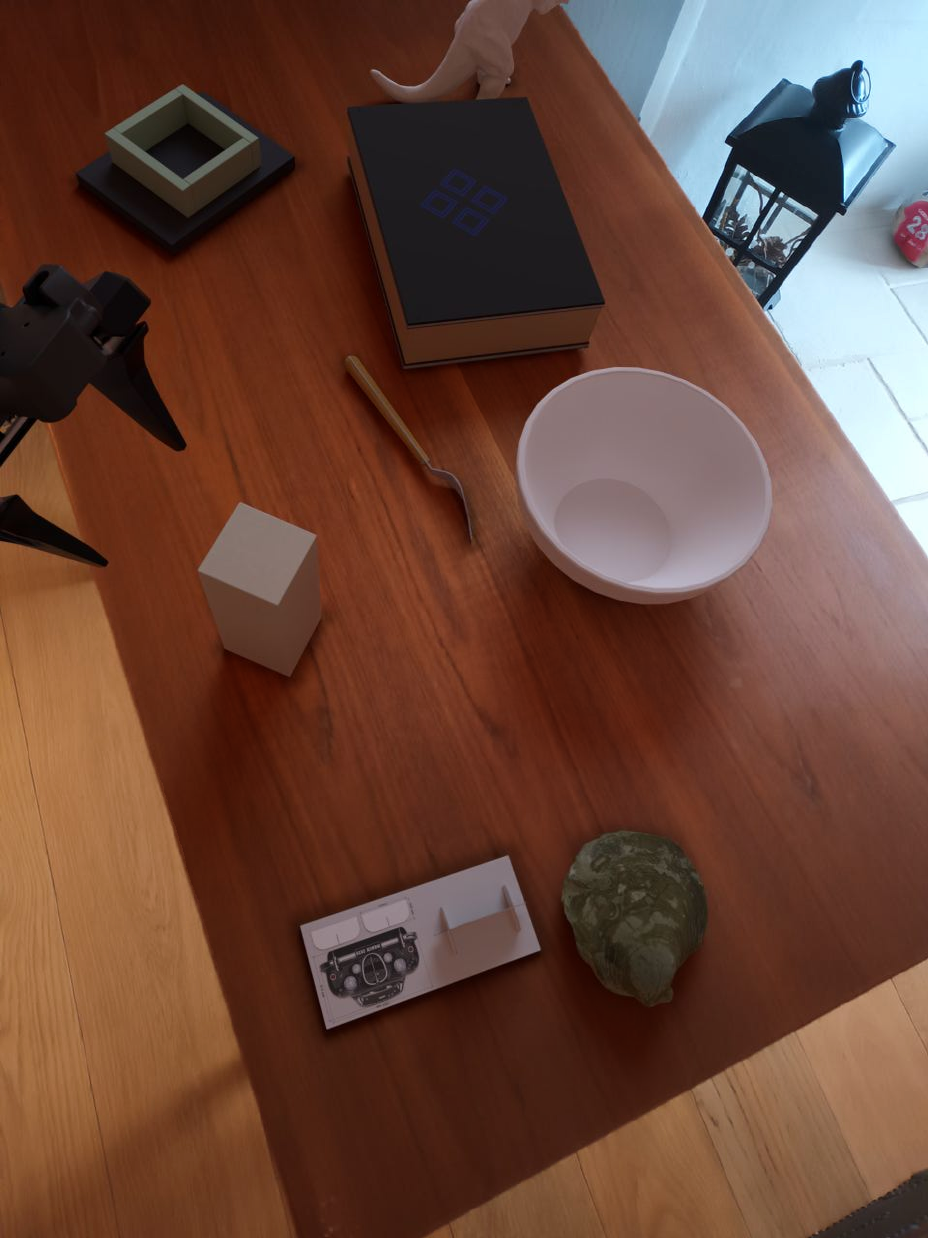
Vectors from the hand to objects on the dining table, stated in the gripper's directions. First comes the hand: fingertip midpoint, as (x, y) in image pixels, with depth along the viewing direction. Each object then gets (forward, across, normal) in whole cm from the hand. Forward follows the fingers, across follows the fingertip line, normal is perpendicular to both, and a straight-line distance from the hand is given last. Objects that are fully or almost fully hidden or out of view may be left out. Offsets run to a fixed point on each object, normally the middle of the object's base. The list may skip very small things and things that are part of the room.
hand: (144, 505), depth 54 cm
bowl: (+30, +20, -11) cm, 37 cm away
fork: (+17, +20, +2) cm, 26 cm away
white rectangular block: (+15, 0, +4) cm, 15 cm away
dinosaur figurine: (+8, +62, +11) cm, 64 cm away
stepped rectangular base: (-5, +38, +24) cm, 45 cm away
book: (+14, +42, +5) cm, 44 cm away
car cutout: (+28, -16, -9) cm, 34 cm away
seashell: (+38, -8, -19) cm, 43 cm away
